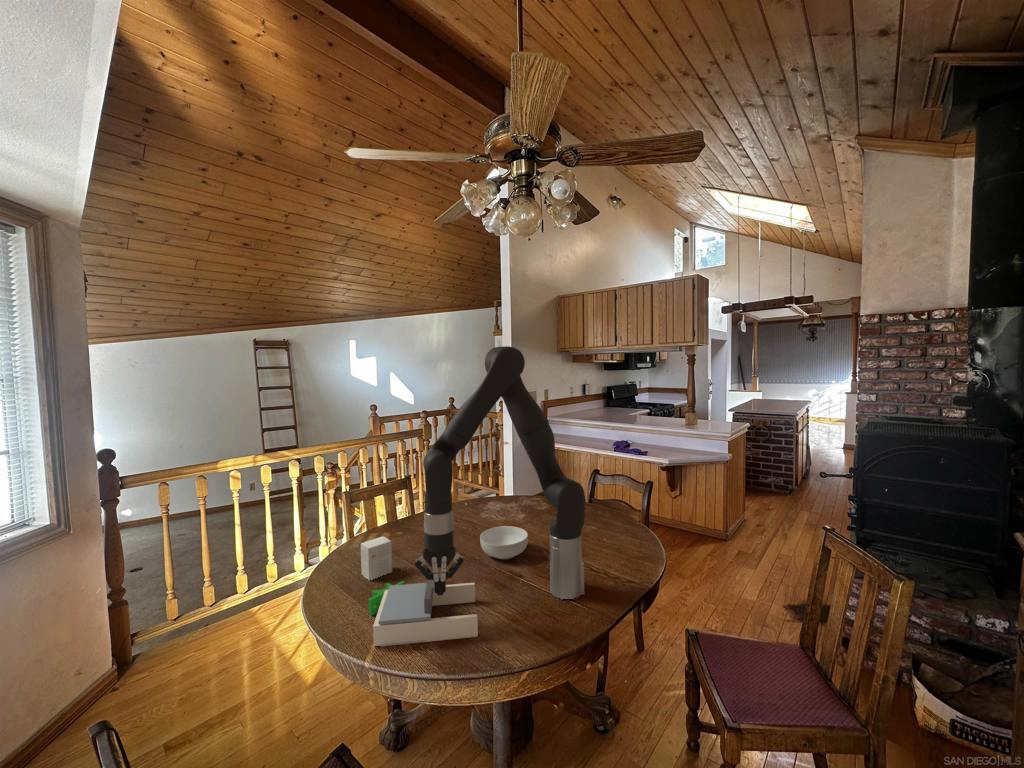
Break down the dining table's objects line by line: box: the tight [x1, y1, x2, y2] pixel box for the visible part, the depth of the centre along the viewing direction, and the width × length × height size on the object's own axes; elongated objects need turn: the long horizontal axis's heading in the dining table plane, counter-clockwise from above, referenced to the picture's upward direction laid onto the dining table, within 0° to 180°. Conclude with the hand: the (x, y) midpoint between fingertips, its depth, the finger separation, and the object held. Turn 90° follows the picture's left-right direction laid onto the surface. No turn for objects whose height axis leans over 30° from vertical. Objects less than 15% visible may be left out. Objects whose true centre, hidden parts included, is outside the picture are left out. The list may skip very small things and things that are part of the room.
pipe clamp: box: [367, 580, 406, 617], centre depth 114 cm, size 11×4×5 cm, turn 144°
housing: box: [372, 582, 479, 647], centre depth 106 cm, size 24×16×5 cm, turn 98°
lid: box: [379, 579, 434, 625], centre depth 105 cm, size 12×16×4 cm
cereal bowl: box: [479, 525, 529, 560], centre depth 144 cm, size 17×17×7 cm
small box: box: [360, 535, 393, 582], centre depth 131 cm, size 8×6×10 cm
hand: (440, 593), depth 106 cm, fingers closed
